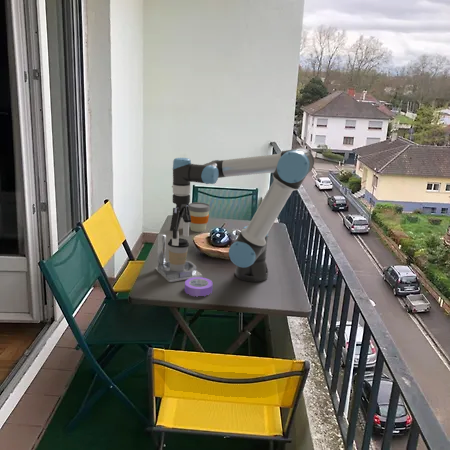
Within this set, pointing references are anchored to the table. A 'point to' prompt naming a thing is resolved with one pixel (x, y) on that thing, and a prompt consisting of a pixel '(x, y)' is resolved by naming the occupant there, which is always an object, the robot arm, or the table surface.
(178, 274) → the ring base with post
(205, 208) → the reusable coffee cup
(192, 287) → the masking tape
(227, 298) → the table surface
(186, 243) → the coffee cup
